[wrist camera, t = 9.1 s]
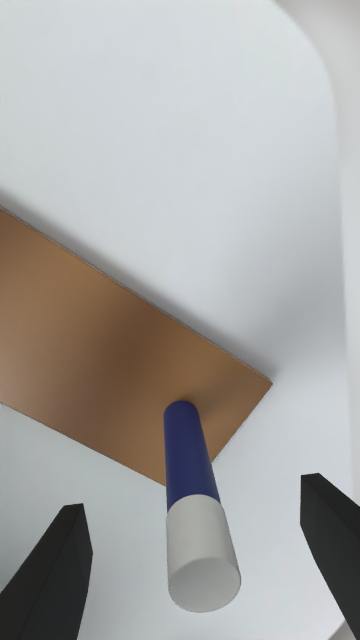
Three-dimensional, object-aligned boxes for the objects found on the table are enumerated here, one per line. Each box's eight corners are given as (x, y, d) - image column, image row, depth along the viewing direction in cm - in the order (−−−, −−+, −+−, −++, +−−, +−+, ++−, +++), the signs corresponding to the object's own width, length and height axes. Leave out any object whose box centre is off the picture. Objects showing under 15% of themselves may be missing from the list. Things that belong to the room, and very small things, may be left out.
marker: (198, 396, 15) (240, 552, 8) (200, 429, 16) (242, 608, 8) (160, 401, 15) (165, 563, 8) (164, 434, 16) (171, 618, 8)
